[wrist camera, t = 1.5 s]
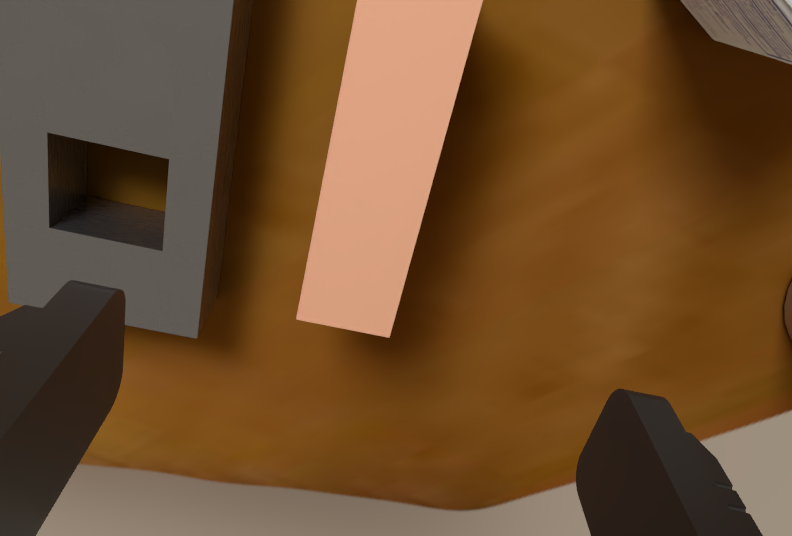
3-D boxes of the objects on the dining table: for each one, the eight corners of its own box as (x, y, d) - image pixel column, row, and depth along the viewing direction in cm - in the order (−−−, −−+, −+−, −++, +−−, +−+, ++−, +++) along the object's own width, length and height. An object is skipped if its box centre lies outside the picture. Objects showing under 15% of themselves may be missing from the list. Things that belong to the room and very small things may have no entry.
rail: (284, -260, 21) (265, -292, 18) (217, 298, 31) (197, 338, 28) (35, -332, 20) (-30, -379, 17) (48, 264, 30) (8, 302, 27)
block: (476, -66, 24) (500, -64, 18) (391, 260, 30) (389, 338, 24) (382, -91, 23) (375, -98, 18) (316, 244, 30) (296, 319, 24)
